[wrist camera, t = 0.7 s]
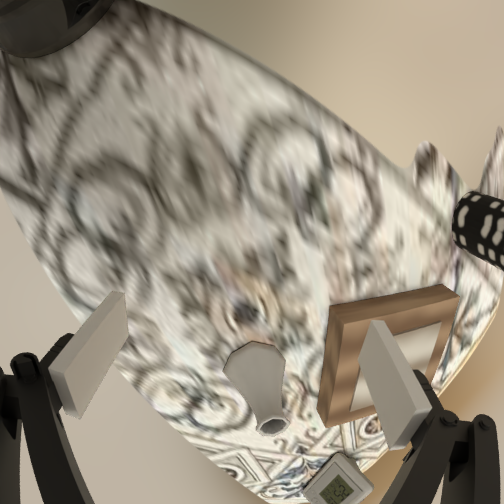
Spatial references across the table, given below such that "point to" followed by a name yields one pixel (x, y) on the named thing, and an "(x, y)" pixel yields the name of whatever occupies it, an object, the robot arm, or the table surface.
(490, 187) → the table surface
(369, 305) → the walnut plinth
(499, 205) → the white-spotted black cylinder
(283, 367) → the flask
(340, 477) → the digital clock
